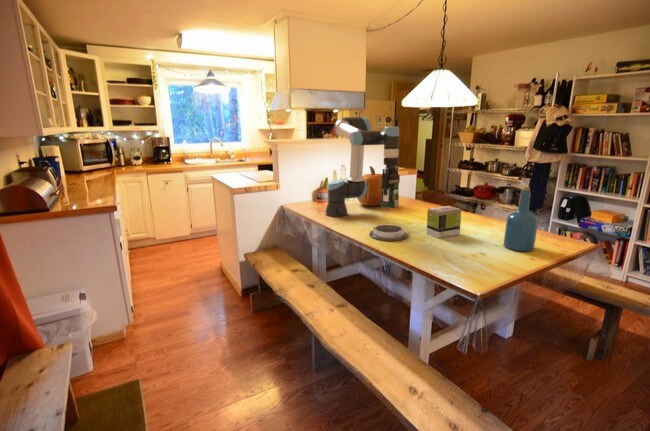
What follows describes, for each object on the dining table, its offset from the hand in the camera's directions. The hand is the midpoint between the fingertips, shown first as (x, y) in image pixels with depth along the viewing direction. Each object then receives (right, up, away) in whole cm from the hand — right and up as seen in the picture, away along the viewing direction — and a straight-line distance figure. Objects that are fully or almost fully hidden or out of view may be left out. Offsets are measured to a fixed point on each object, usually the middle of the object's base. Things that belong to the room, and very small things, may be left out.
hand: (389, 199), depth 181 cm
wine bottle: (+59, -24, -17) cm, 66 cm away
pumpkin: (+2, -1, +77) cm, 77 cm away
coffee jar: (0, -4, +1) cm, 4 cm away
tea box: (+30, -19, +5) cm, 36 cm away
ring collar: (0, -19, +5) cm, 20 cm away
